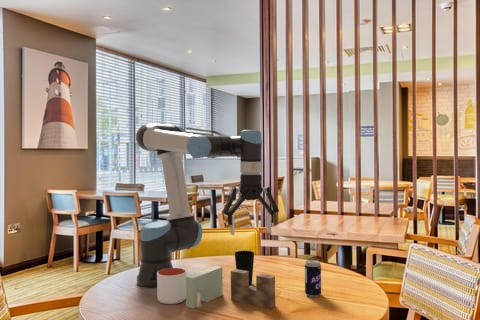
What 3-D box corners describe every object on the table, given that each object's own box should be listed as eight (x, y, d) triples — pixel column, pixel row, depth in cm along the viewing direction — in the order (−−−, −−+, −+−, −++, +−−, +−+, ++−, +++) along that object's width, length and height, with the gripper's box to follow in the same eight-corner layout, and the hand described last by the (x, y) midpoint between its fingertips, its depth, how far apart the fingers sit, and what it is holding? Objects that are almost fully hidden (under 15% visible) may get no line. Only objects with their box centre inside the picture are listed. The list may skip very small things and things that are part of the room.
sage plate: (193, 308, 138) (192, 278, 138) (186, 306, 140) (186, 276, 139) (222, 294, 151) (222, 267, 151) (216, 293, 153) (215, 265, 153)
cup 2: (252, 287, 159) (252, 255, 159) (233, 286, 161) (232, 254, 160) (256, 280, 167) (255, 250, 166) (237, 280, 168) (236, 250, 168)
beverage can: (311, 298, 146) (311, 264, 145) (301, 294, 151) (301, 260, 150) (324, 296, 148) (324, 262, 148) (314, 291, 153) (314, 258, 153)
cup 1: (173, 307, 139) (173, 277, 139) (151, 302, 144) (150, 273, 144) (192, 298, 148) (191, 270, 147) (170, 293, 153) (170, 266, 153)
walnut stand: (230, 299, 146) (230, 270, 146) (235, 297, 148) (235, 268, 148) (270, 308, 137) (270, 278, 137) (275, 306, 139) (275, 276, 139)
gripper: (218, 174, 142) (219, 237, 142) (287, 173, 148) (287, 233, 149) (214, 173, 149) (214, 233, 150) (280, 172, 156) (280, 229, 156)
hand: (250, 233), depth 149 cm, fingers open, 13 cm apart
